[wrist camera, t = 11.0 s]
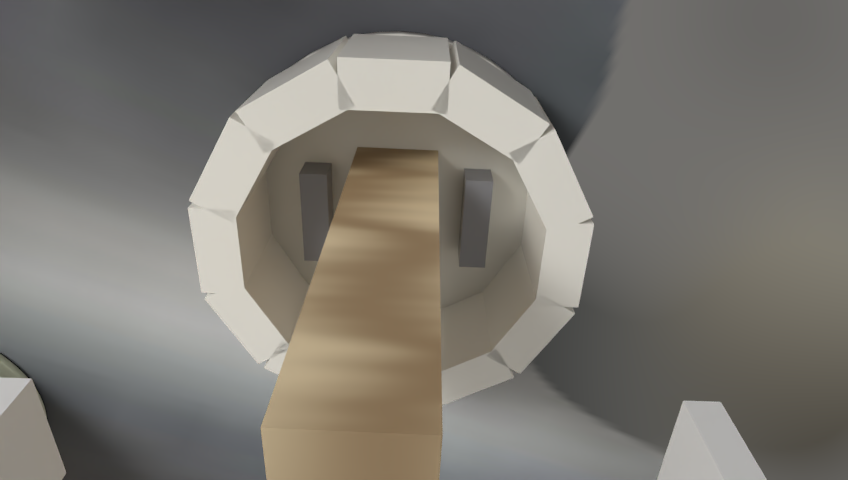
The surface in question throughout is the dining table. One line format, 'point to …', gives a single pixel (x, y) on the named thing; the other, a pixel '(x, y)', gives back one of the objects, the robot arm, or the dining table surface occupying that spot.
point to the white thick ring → (458, 198)
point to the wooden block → (367, 335)
